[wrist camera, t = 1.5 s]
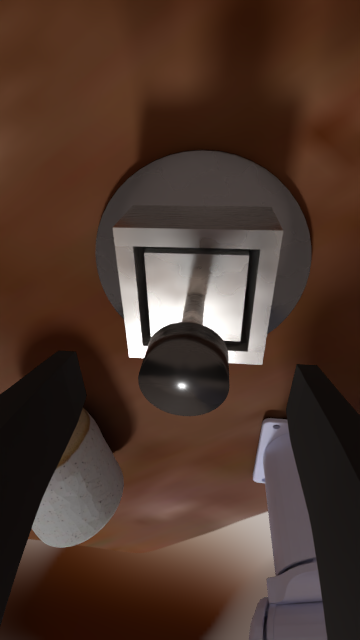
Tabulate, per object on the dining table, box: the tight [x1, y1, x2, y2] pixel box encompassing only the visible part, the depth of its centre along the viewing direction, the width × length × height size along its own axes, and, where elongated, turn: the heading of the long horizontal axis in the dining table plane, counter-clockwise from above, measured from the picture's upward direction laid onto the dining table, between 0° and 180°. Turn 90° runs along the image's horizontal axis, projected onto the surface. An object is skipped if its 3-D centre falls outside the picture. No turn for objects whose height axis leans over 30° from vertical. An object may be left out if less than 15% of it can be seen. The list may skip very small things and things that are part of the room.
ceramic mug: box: [32, 408, 124, 548], centre depth 25 cm, size 11×8×8 cm
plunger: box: [138, 248, 249, 416], centre depth 13 cm, size 5×5×6 cm
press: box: [96, 150, 311, 365], centre depth 17 cm, size 12×12×4 cm
